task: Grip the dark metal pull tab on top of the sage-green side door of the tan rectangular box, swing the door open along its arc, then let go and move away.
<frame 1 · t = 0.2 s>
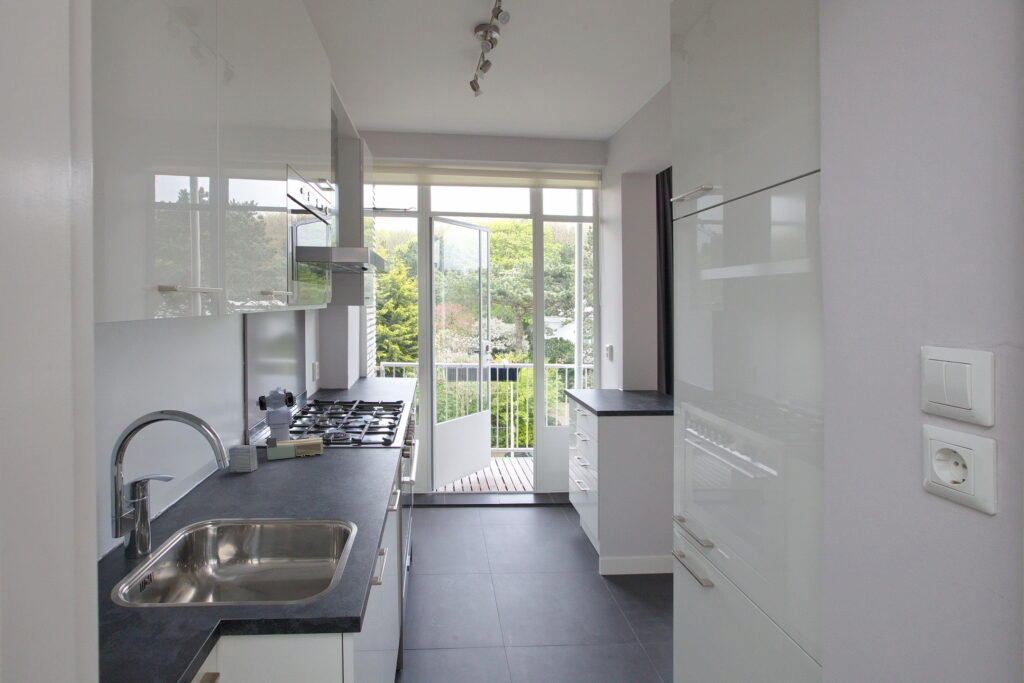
hand: (275, 403, 231), 21 cm above the countertop, tool horizontal, fingers open, 7 cm apart
medicine box: (244, 471, 218), on the countertop
side door: (281, 447, 233), point 4 cm above the countertop, hinge at 0.0°
tan rectangular box: (296, 454, 239), on the countertop
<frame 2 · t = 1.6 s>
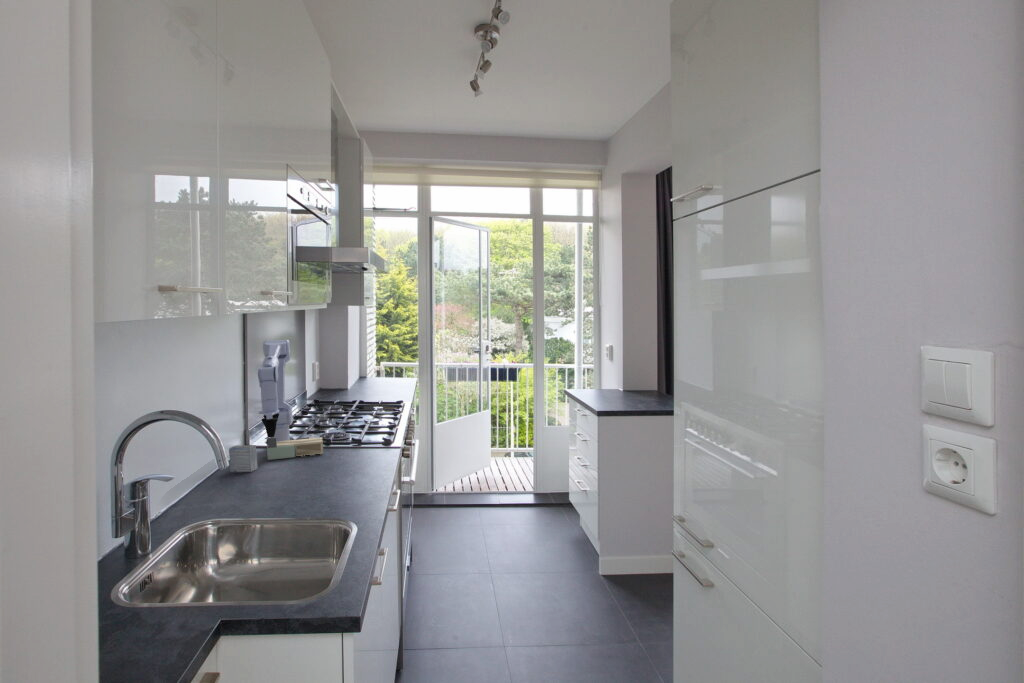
hand: (271, 435, 231), 9 cm above the countertop, tool pointing down, fingers open, 7 cm apart
nothing on the countertop moved.
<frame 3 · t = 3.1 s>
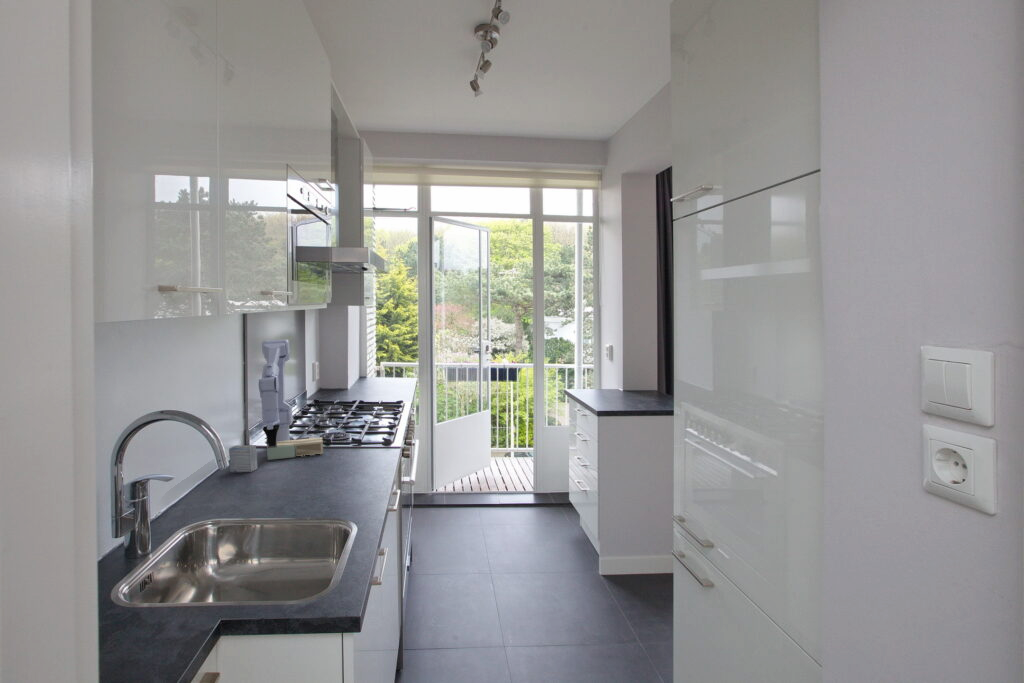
hand: (272, 445, 232), 6 cm above the countertop, tool pointing down, fingers closed on side door
side door: (281, 447, 233), point 4 cm above the countertop, hinge at 0.0°, touching gripper
everything else where it was.
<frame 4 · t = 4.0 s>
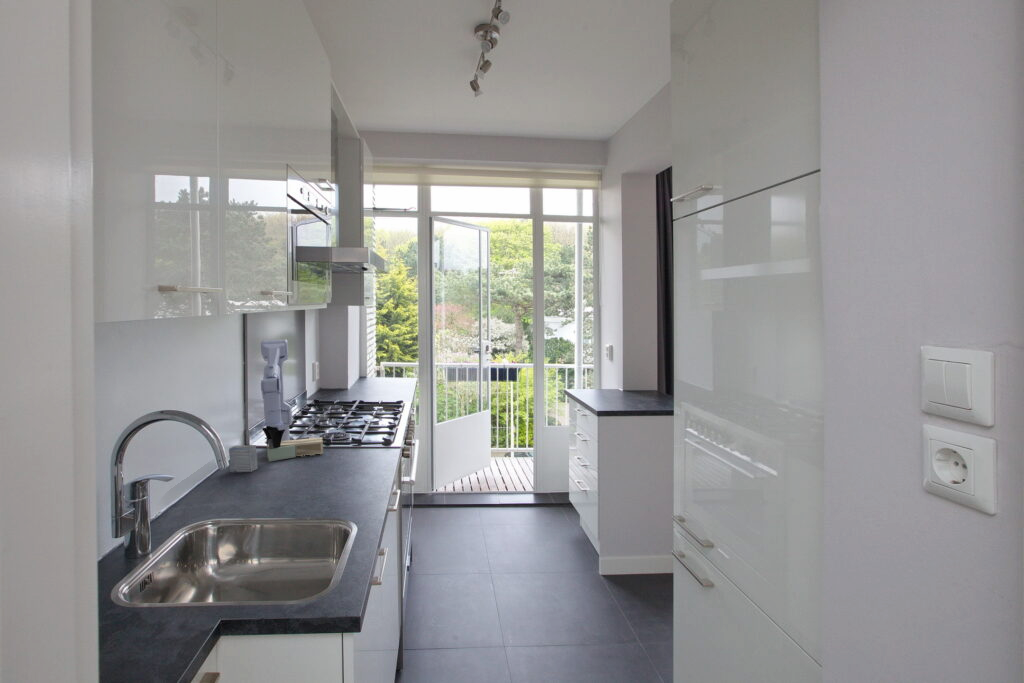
hand: (274, 446, 229), 6 cm above the countertop, tool pointing down, fingers open, 3 cm apart
side door: (282, 448, 231), point 4 cm above the countertop, hinge at 16.3°, touching gripper
everything else where it was.
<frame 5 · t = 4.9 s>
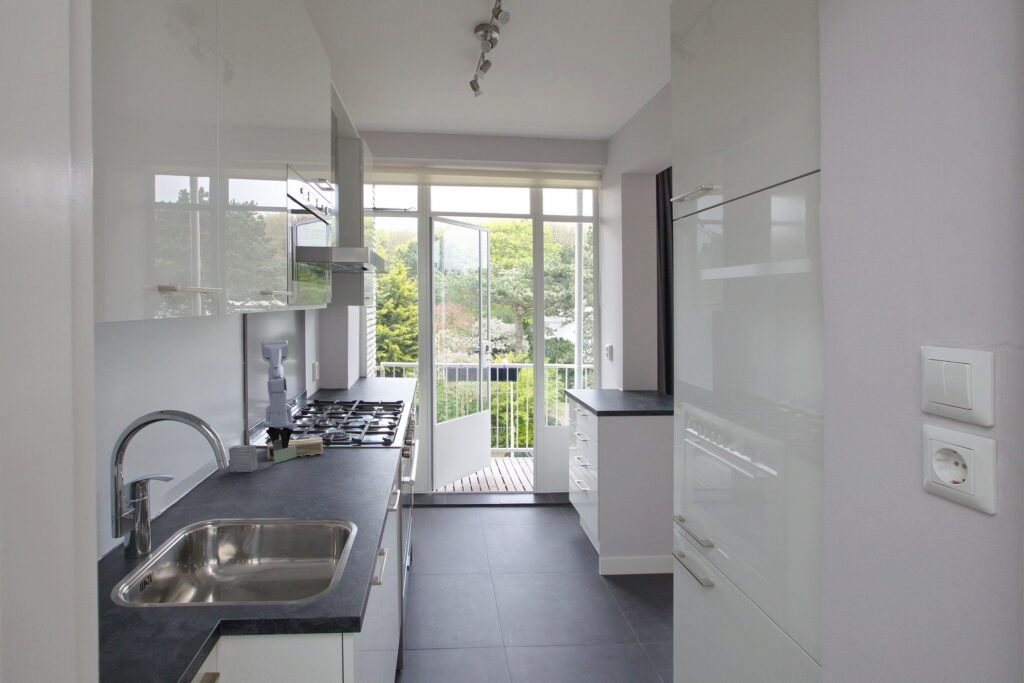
hand: (280, 447, 227), 6 cm above the countertop, tool pointing down, fingers open, 3 cm apart
side door: (285, 449, 230), point 4 cm above the countertop, hinge at 41.4°, touching gripper
everything else where it was.
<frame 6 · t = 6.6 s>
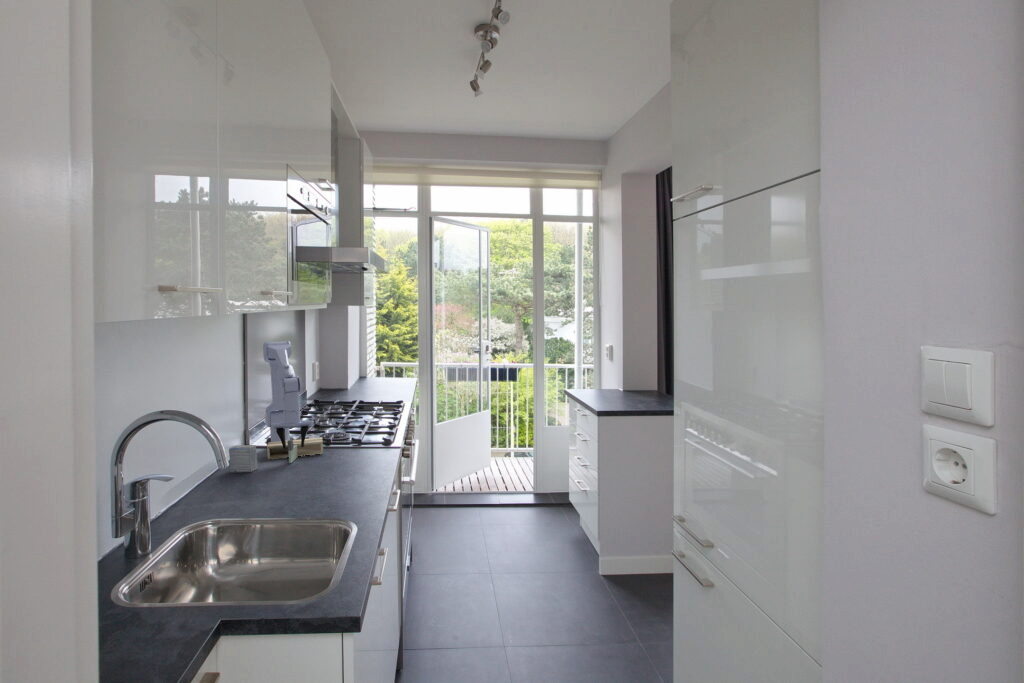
hand: (293, 447, 227), 6 cm above the countertop, tool pointing down, fingers open, 6 cm apart
side door: (293, 449, 230), point 4 cm above the countertop, hinge at 77.3°
everything else where it was.
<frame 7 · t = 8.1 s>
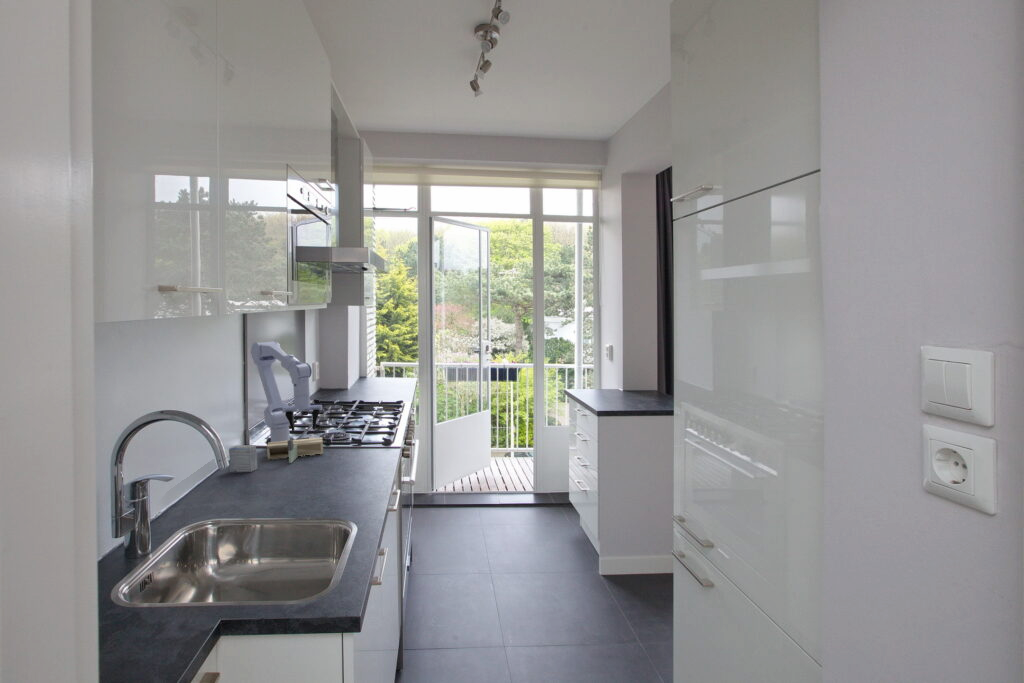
hand: (303, 429, 240), 9 cm above the countertop, tool pointing down, fingers open, 7 cm apart
nothing on the countertop moved.
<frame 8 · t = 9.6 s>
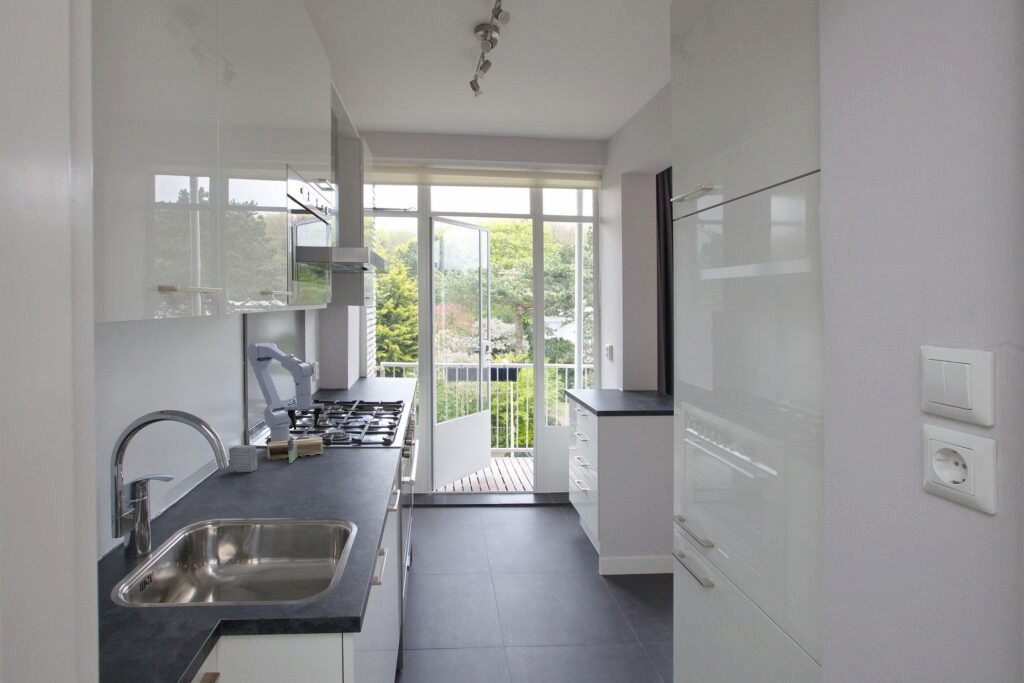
hand: (305, 428, 242), 9 cm above the countertop, tool pointing down, fingers open, 7 cm apart
nothing on the countertop moved.
at the end: side door at +77° (first picture: +0°); the gripper is holding nothing; medicine box moved 0.3 cm from its start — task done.
